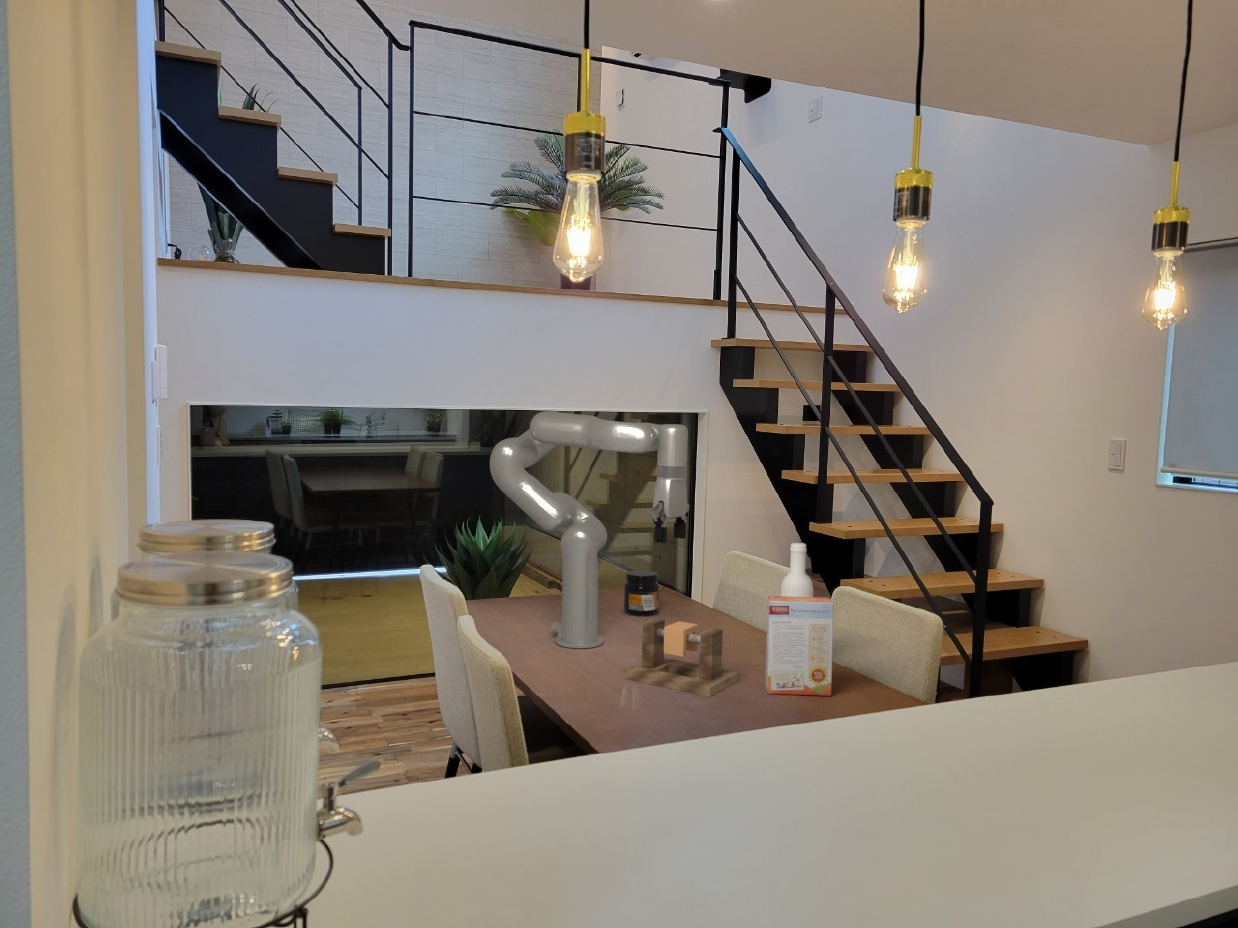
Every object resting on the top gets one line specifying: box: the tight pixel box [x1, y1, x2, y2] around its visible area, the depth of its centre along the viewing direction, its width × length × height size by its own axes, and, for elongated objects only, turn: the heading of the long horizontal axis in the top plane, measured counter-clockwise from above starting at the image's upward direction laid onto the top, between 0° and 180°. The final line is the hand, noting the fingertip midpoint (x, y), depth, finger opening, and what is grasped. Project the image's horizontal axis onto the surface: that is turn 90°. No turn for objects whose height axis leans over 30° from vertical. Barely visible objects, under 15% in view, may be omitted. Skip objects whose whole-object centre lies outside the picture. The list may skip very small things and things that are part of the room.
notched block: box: [664, 620, 699, 658], centre depth 208 cm, size 5×7×6 cm
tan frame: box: [623, 617, 739, 698], centre depth 208 cm, size 22×14×12 cm, turn 57°
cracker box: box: [765, 595, 835, 697], centre depth 201 cm, size 14×6×21 cm, turn 86°
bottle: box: [779, 542, 814, 597], centre depth 220 cm, size 8×8×30 cm
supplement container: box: [623, 569, 660, 617], centre depth 274 cm, size 10×10×12 cm
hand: (670, 540), depth 232 cm, fingers open, 9 cm apart
